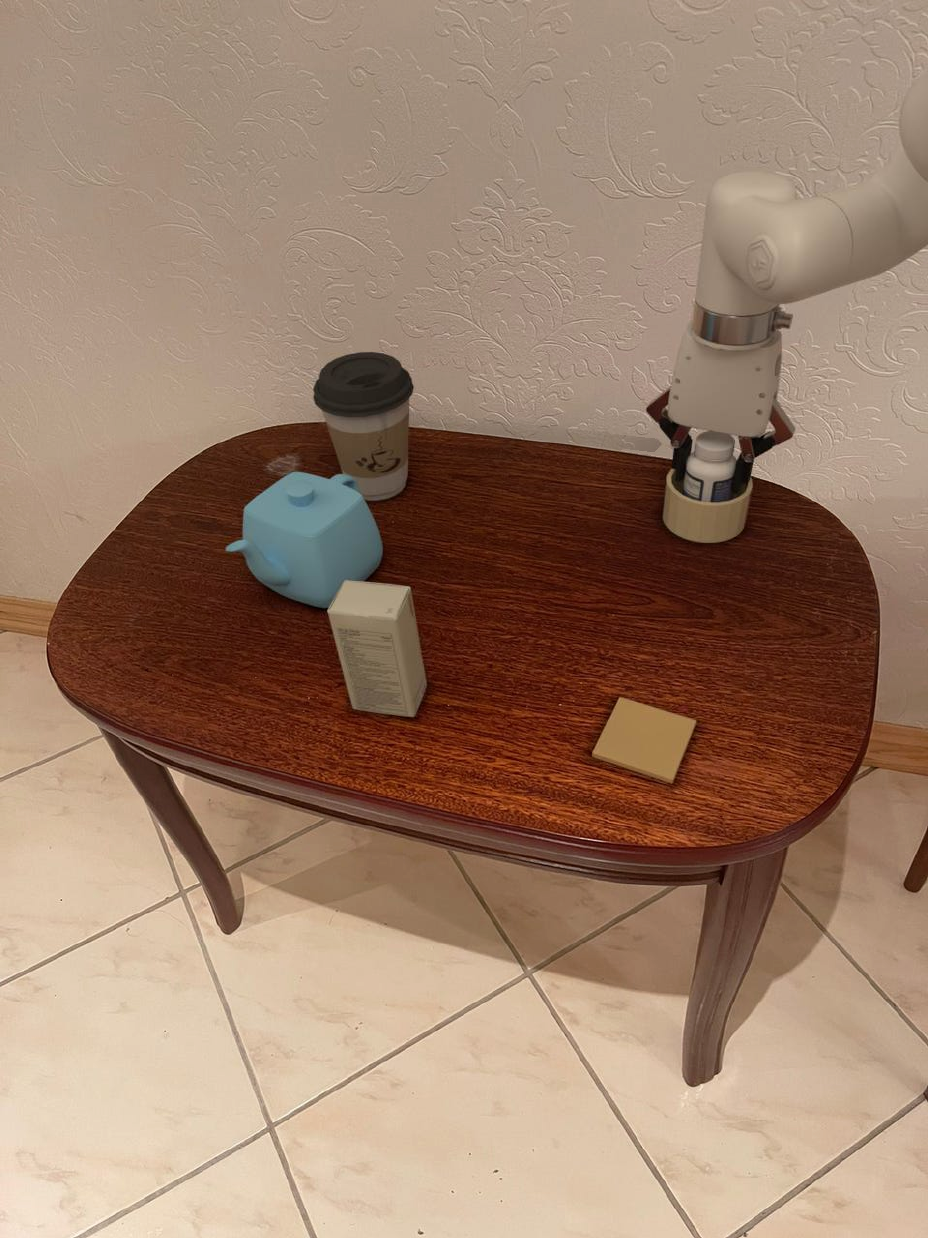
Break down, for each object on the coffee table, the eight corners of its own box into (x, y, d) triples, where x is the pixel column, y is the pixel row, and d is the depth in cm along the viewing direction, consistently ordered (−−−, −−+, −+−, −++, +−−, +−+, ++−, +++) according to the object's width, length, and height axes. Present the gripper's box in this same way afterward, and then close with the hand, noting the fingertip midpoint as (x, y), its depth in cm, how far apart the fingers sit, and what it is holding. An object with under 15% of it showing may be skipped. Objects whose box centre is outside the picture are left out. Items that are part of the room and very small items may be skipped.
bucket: (753, 505, 100) (761, 467, 97) (733, 550, 95) (741, 512, 91) (676, 488, 104) (680, 451, 100) (652, 531, 98) (656, 494, 94)
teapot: (209, 612, 92) (179, 523, 84) (321, 522, 103) (303, 436, 95) (298, 655, 87) (274, 564, 79) (407, 555, 97) (395, 466, 90)
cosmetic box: (428, 685, 83) (415, 585, 74) (414, 720, 80) (400, 619, 71) (363, 675, 84) (343, 576, 76) (347, 709, 81) (325, 610, 73)
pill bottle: (730, 505, 100) (743, 428, 94) (727, 533, 96) (741, 456, 90) (681, 499, 101) (691, 424, 95) (677, 527, 98) (686, 451, 91)
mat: (696, 724, 77) (696, 720, 77) (672, 784, 73) (673, 779, 72) (619, 700, 80) (619, 696, 79) (591, 757, 75) (592, 752, 75)
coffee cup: (347, 521, 103) (326, 405, 93) (319, 473, 111) (297, 361, 100) (438, 494, 106) (427, 379, 95) (404, 449, 113) (390, 338, 103)
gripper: (835, 315, 83) (798, 478, 95) (657, 292, 89) (643, 448, 101) (820, 349, 78) (783, 517, 90) (633, 322, 84) (621, 482, 96)
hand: (709, 479), depth 96 cm, fingers closed on pill bottle, 5 cm apart
